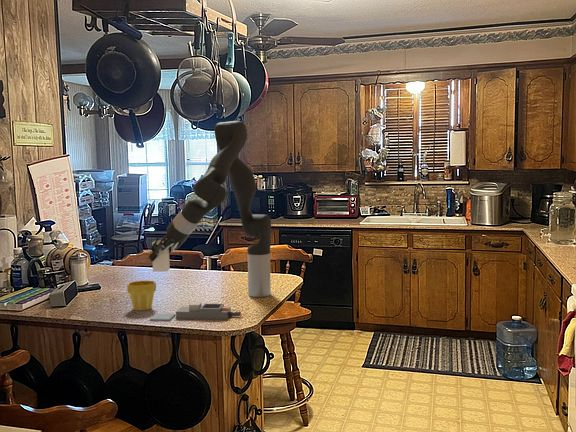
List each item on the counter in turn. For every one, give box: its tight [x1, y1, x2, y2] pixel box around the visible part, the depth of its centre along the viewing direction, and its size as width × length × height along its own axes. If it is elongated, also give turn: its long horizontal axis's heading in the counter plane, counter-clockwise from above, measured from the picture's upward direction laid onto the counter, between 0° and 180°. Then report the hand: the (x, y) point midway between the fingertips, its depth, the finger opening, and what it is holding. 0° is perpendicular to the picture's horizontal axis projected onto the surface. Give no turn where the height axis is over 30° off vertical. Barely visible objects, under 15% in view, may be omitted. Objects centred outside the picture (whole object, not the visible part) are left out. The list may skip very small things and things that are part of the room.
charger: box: [151, 239, 171, 273], centre depth 197 cm, size 4×4×11 cm
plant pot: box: [126, 280, 157, 311], centre depth 213 cm, size 10×10×10 cm
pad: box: [149, 313, 176, 322], centre depth 199 cm, size 7×7×1 cm
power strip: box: [175, 301, 242, 320], centre depth 200 cm, size 7×22×4 cm, turn 85°
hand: (157, 257), depth 198 cm, fingers closed on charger, 6 cm apart
